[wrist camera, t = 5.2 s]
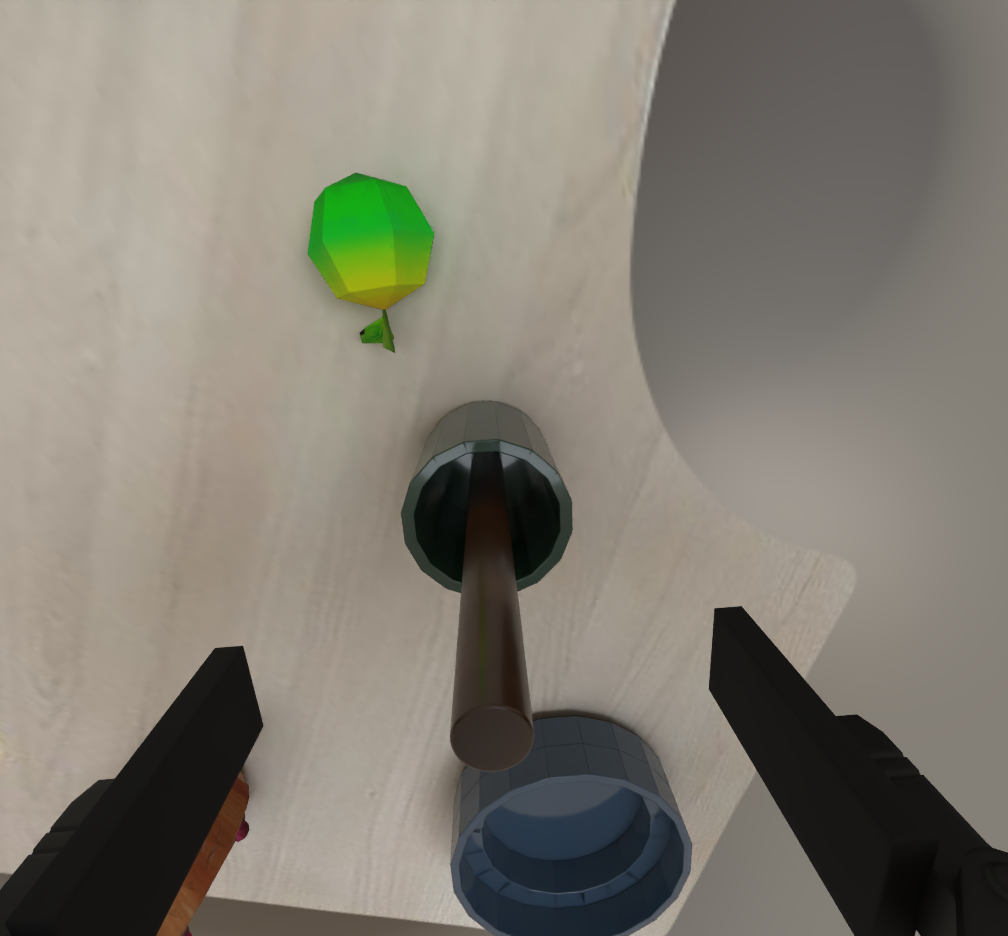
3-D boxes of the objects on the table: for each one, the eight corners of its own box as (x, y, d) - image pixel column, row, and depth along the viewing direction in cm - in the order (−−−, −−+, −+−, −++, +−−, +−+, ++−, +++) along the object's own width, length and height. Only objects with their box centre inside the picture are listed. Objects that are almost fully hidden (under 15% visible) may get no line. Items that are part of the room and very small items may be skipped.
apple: (322, 145, 22) (376, 360, 24) (442, 153, 26) (477, 337, 28) (265, 194, 27) (314, 367, 30) (372, 194, 31) (407, 346, 34)
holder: (545, 396, 33) (570, 434, 23) (549, 513, 35) (574, 591, 26) (418, 404, 33) (391, 446, 23) (431, 521, 35) (412, 603, 26)
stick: (501, 448, 33) (532, 702, 12) (503, 478, 34) (536, 769, 13) (469, 450, 33) (445, 709, 12) (472, 480, 34) (453, 776, 13)
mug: (215, 839, 43) (81, 1107, 29) (127, 789, 41) (-63, 1049, 27) (327, 734, 40) (241, 973, 26) (239, 675, 38) (92, 897, 24)
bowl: (667, 700, 40) (697, 765, 35) (660, 860, 46) (686, 939, 40) (446, 717, 40) (439, 786, 34) (465, 876, 45) (462, 959, 40)
